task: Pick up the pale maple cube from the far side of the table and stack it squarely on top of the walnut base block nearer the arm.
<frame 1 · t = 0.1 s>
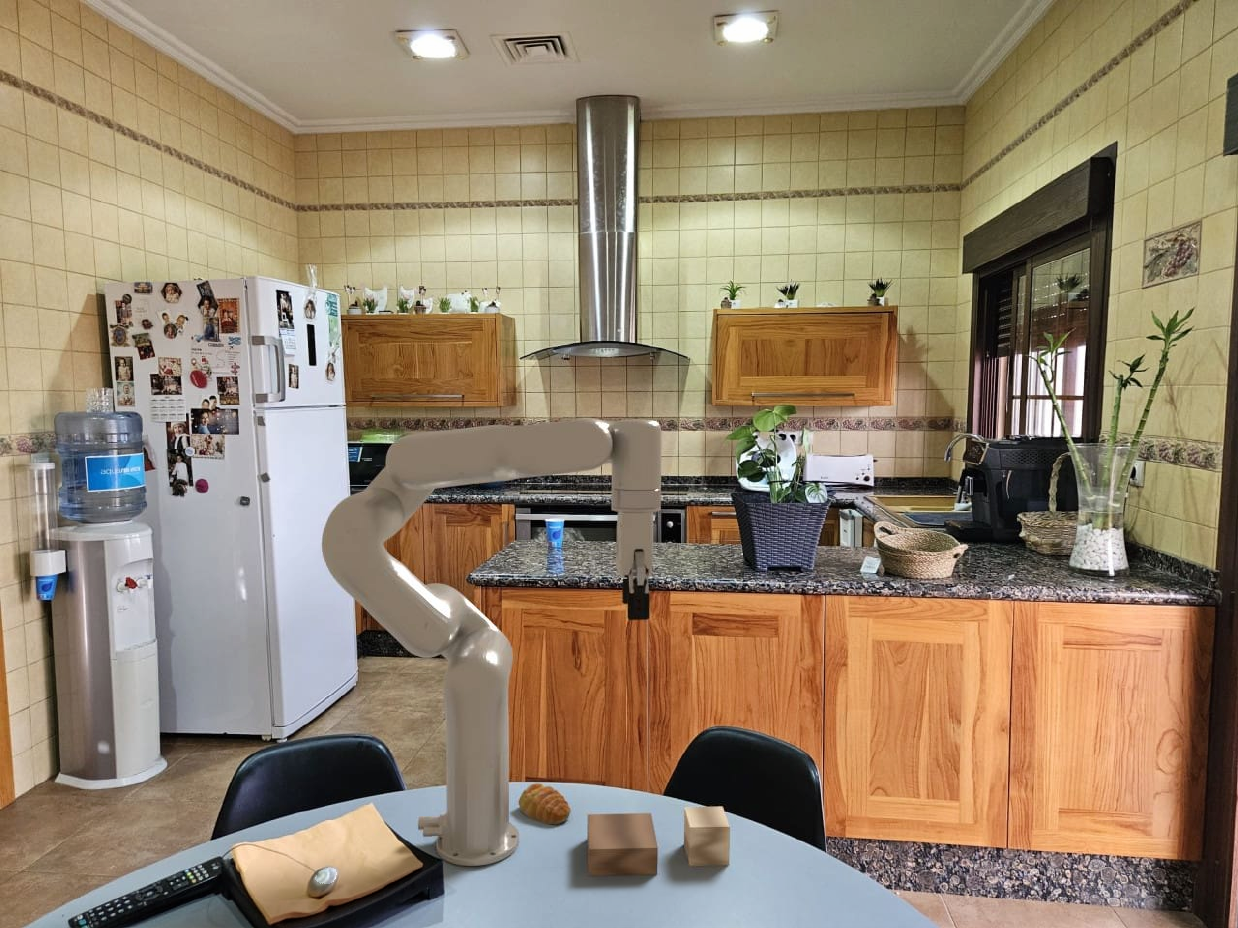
hand: (635, 610, 122), 37 cm above the table, tool pointing down, fingers open, 9 cm apart
walnut base: (621, 855, 120), on the table
maple cube: (706, 854, 121), on the table
pastry: (545, 813, 134), on the table
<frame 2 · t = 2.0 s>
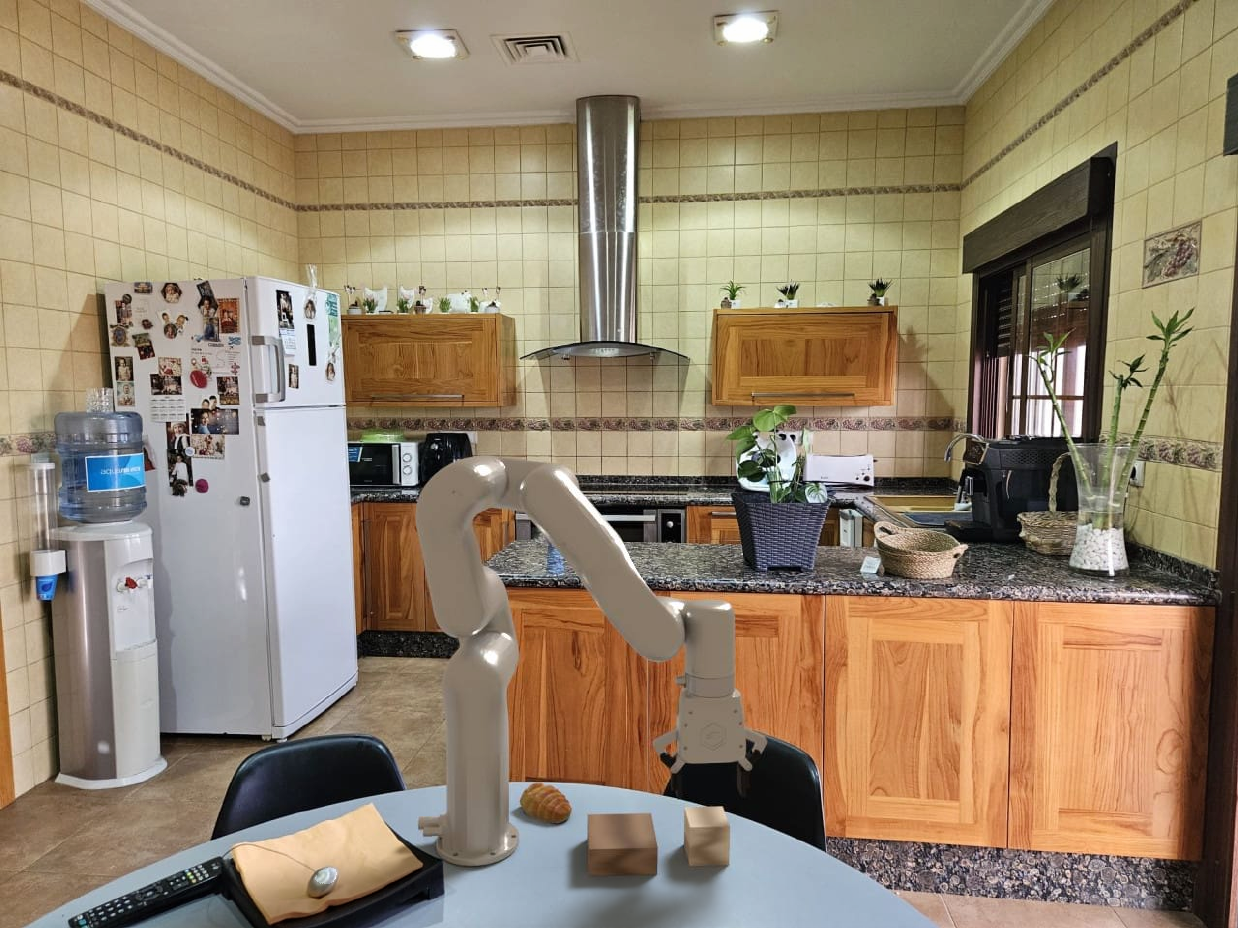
hand: (710, 793, 120), 10 cm above the table, tool pointing down, fingers open, 9 cm apart
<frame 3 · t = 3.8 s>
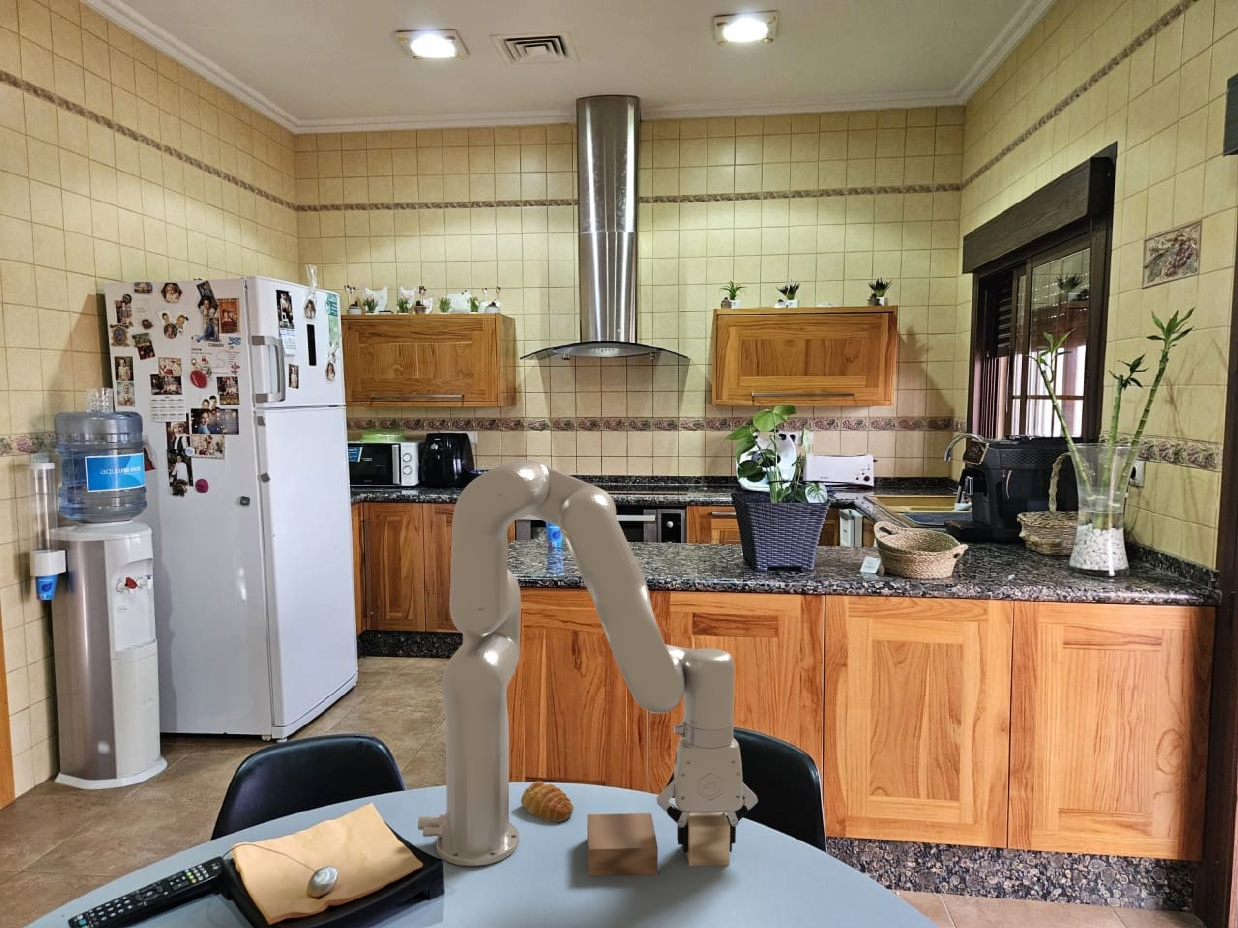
hand: (706, 846, 121), 1 cm above the table, tool pointing down, fingers closed on maple cube, 6 cm apart
maple cube: (706, 854, 121), on the table, touching gripper
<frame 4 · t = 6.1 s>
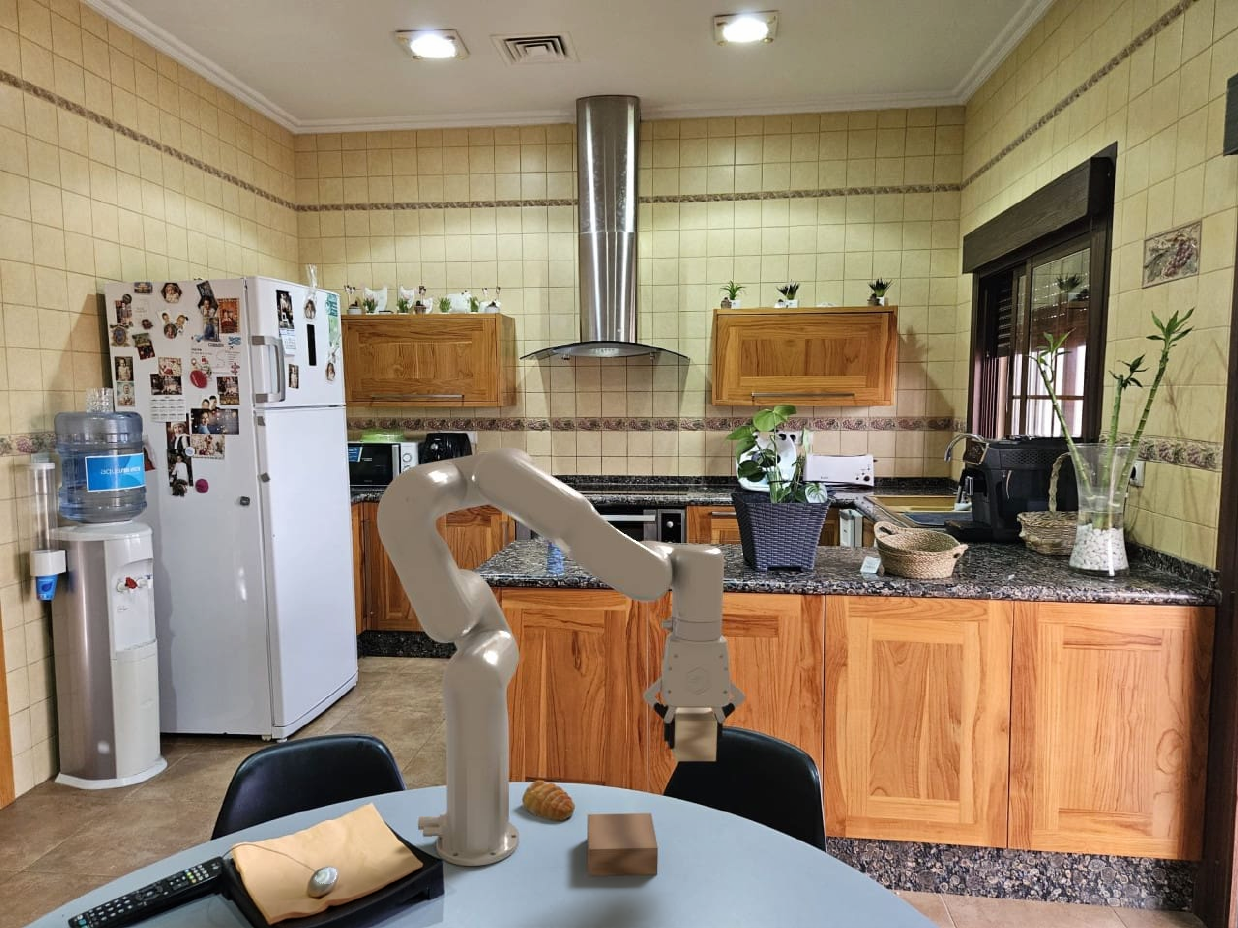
hand: (692, 744, 120), 17 cm above the table, tool pointing down, fingers closed on maple cube, 6 cm apart
maple cube: (692, 752, 120), point 16 cm above the table, touching gripper
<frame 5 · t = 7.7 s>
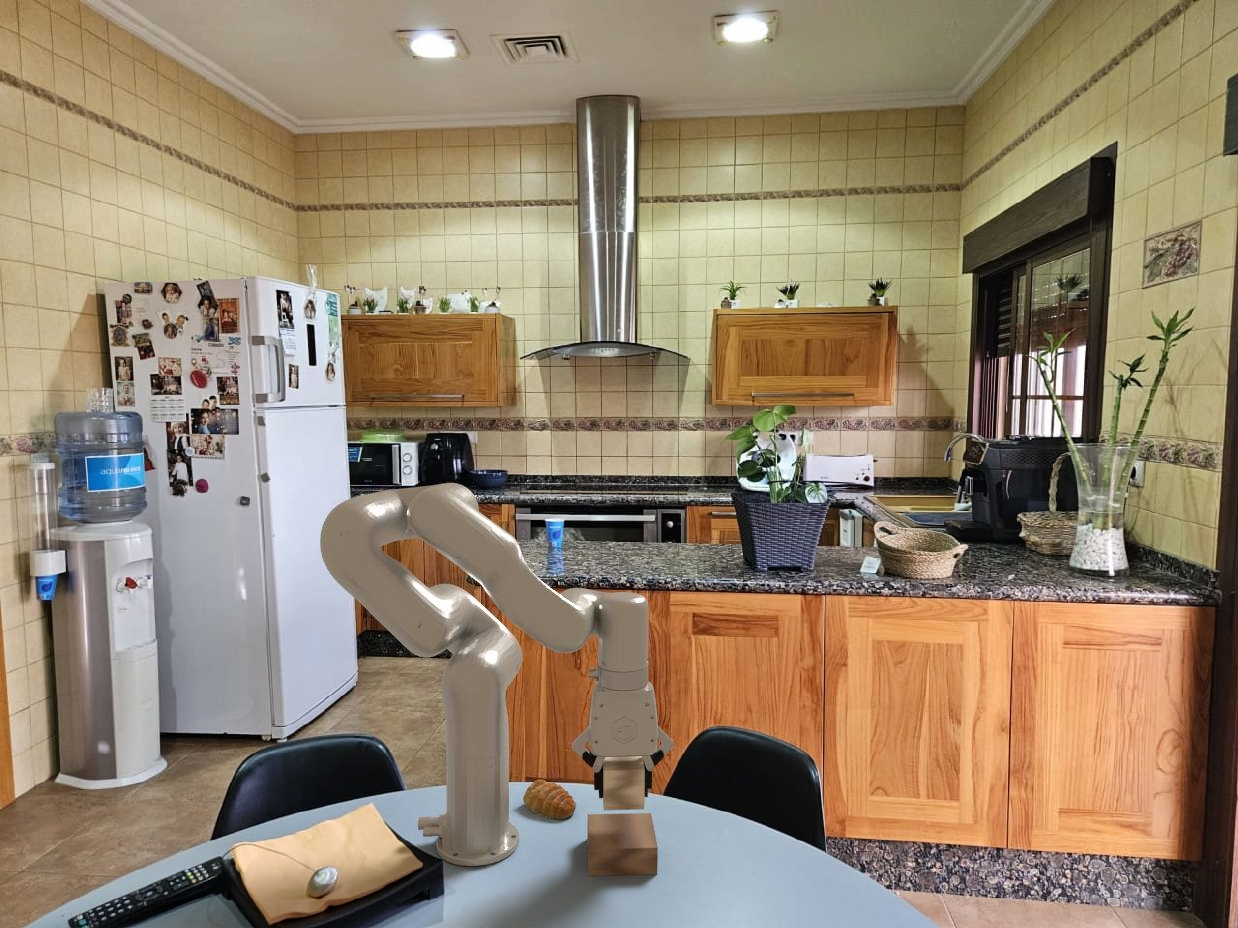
hand: (622, 792, 120), 10 cm above the table, tool pointing down, fingers closed on maple cube, 6 cm apart
maple cube: (622, 799, 120), point 9 cm above the table, touching gripper
when the fingers open (7 cm above the table, at t = 8.7 s): maple cube drops 2 cm, resting on walnut base.
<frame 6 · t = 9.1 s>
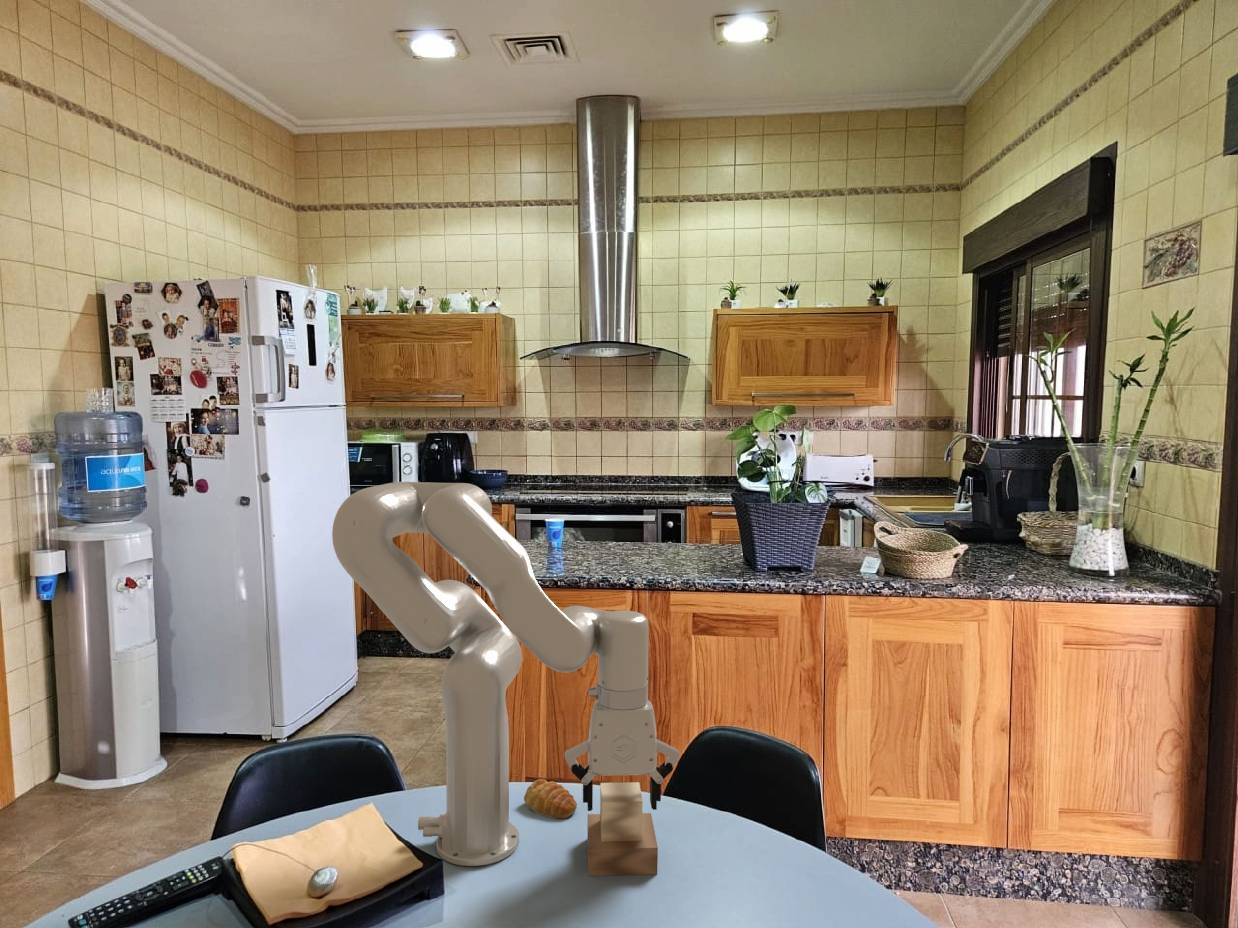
hand: (621, 805, 120), 8 cm above the table, tool pointing down, fingers open, 9 cm apart
maple cube: (620, 830, 120), point 4 cm above the table, touching walnut base
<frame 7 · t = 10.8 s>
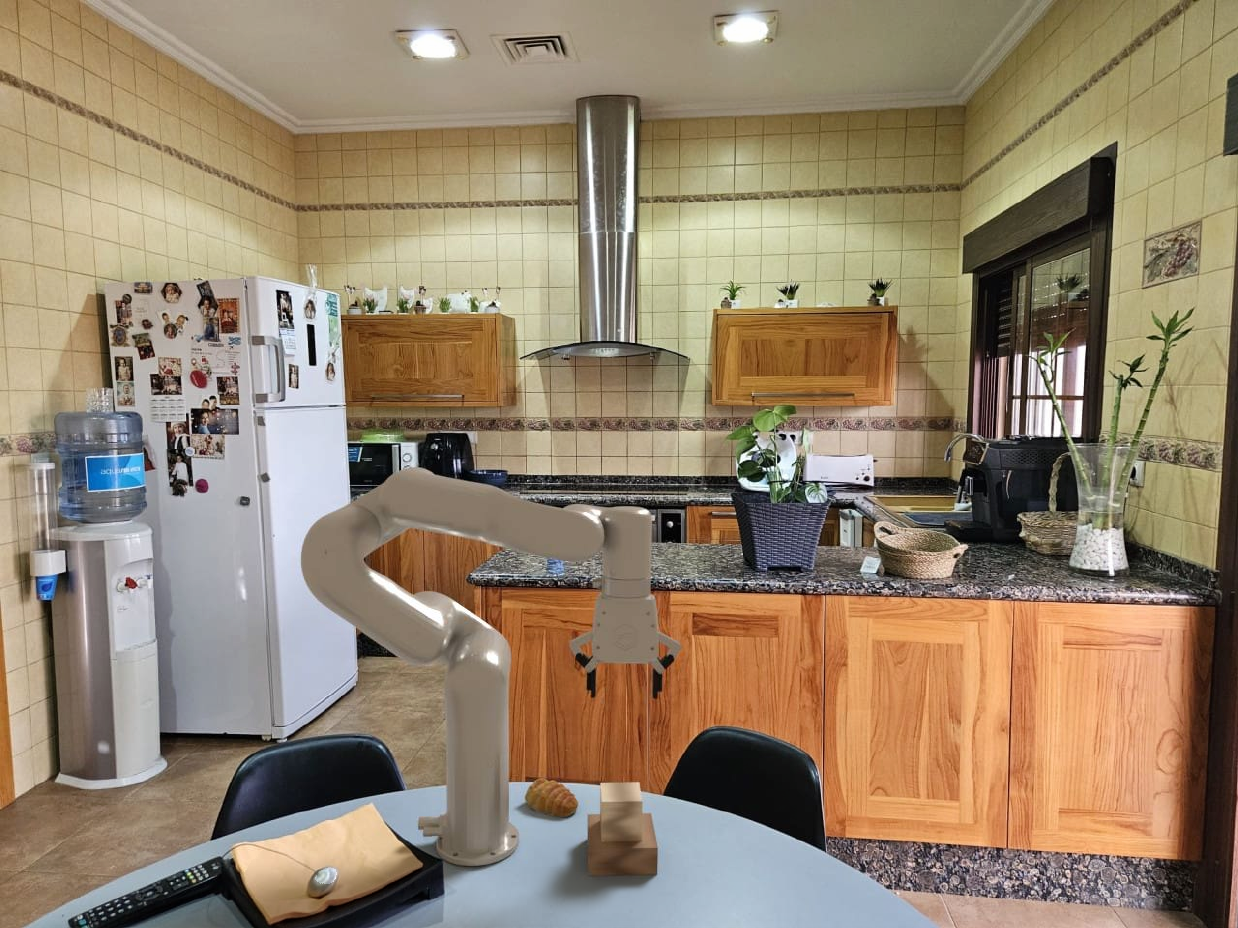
hand: (624, 695, 123), 23 cm above the table, tool pointing down, fingers open, 9 cm apart
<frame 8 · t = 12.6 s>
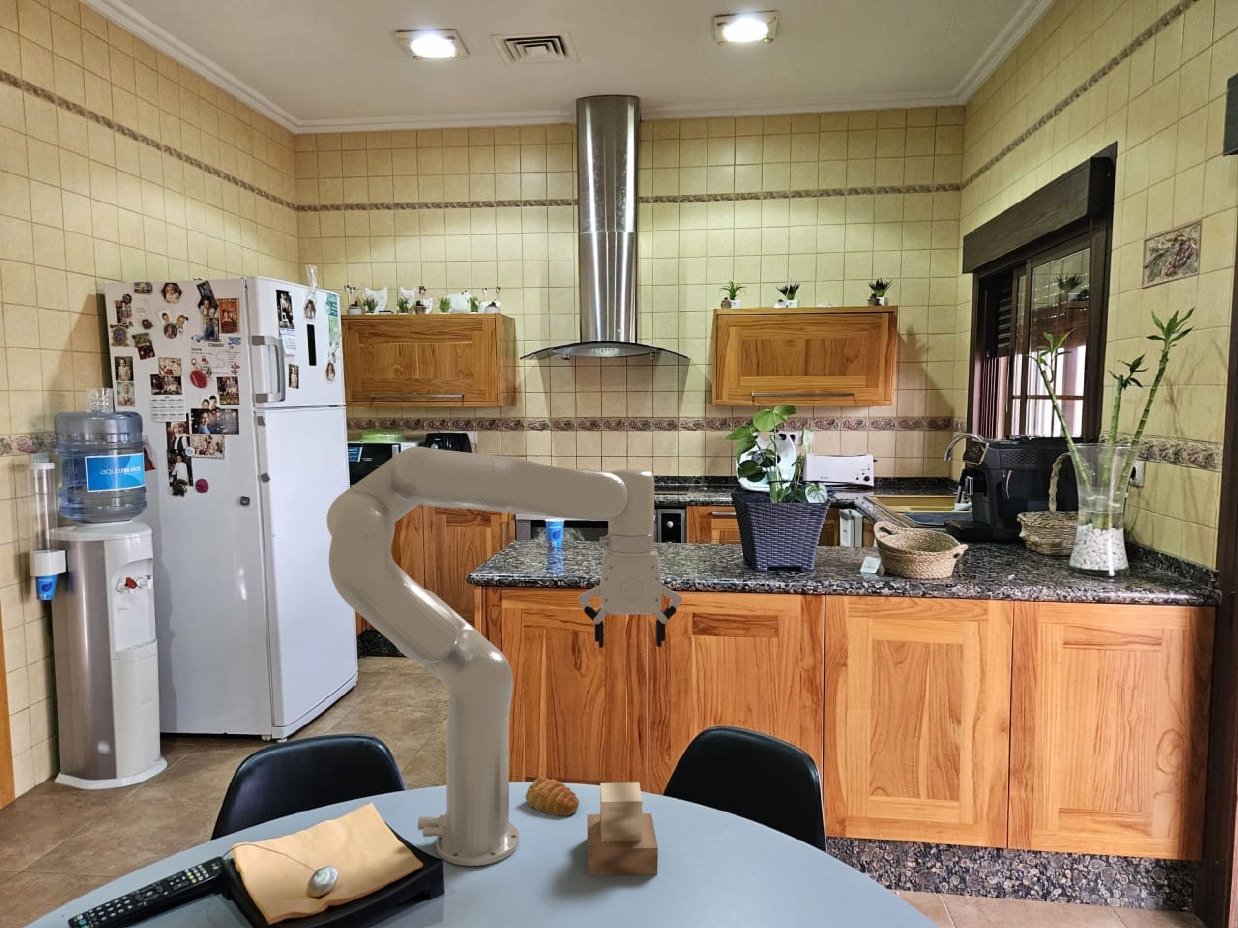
hand: (629, 645, 132), 28 cm above the table, tool pointing down, fingers open, 9 cm apart
at the end: maple cube 0.1 cm off-centre on the walnut base, point 4.0 cm above the walnut base's base; maple cube tilted 0°; the gripper is holding nothing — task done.
